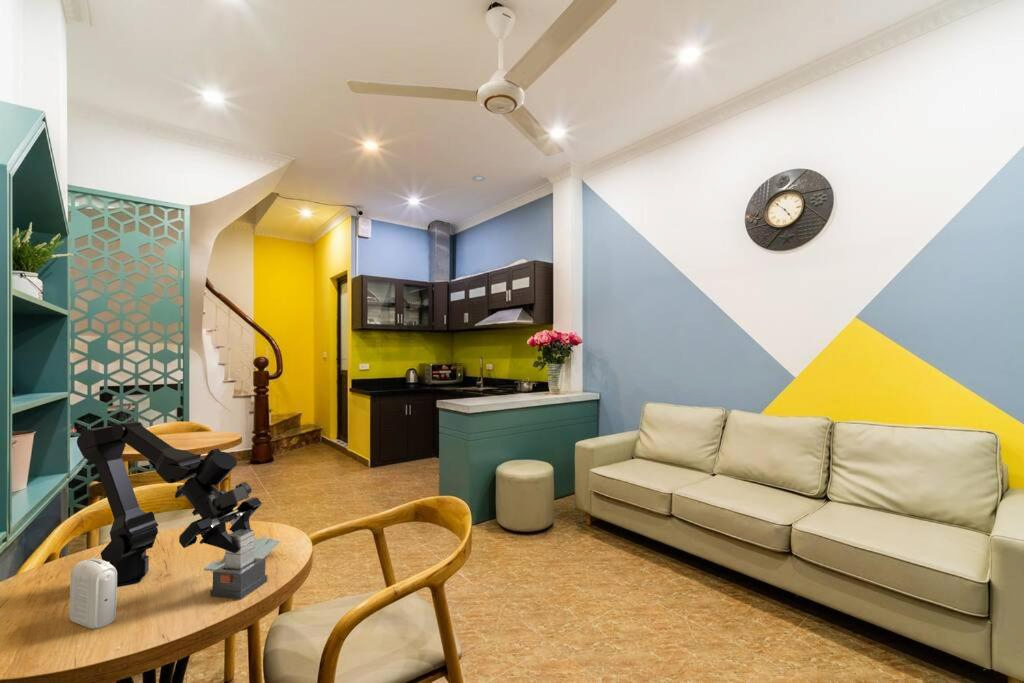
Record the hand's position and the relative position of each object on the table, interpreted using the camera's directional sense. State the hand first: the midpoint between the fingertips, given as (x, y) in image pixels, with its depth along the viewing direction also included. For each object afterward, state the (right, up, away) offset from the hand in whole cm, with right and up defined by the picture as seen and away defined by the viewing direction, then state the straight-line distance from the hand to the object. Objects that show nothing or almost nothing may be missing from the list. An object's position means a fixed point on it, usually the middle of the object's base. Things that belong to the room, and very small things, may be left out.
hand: (244, 547), depth 102 cm
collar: (-1, -10, 0) cm, 10 cm away
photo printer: (-24, -10, -12) cm, 29 cm away
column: (-1, -6, 0) cm, 6 cm away
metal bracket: (-8, -11, +14) cm, 20 cm away
